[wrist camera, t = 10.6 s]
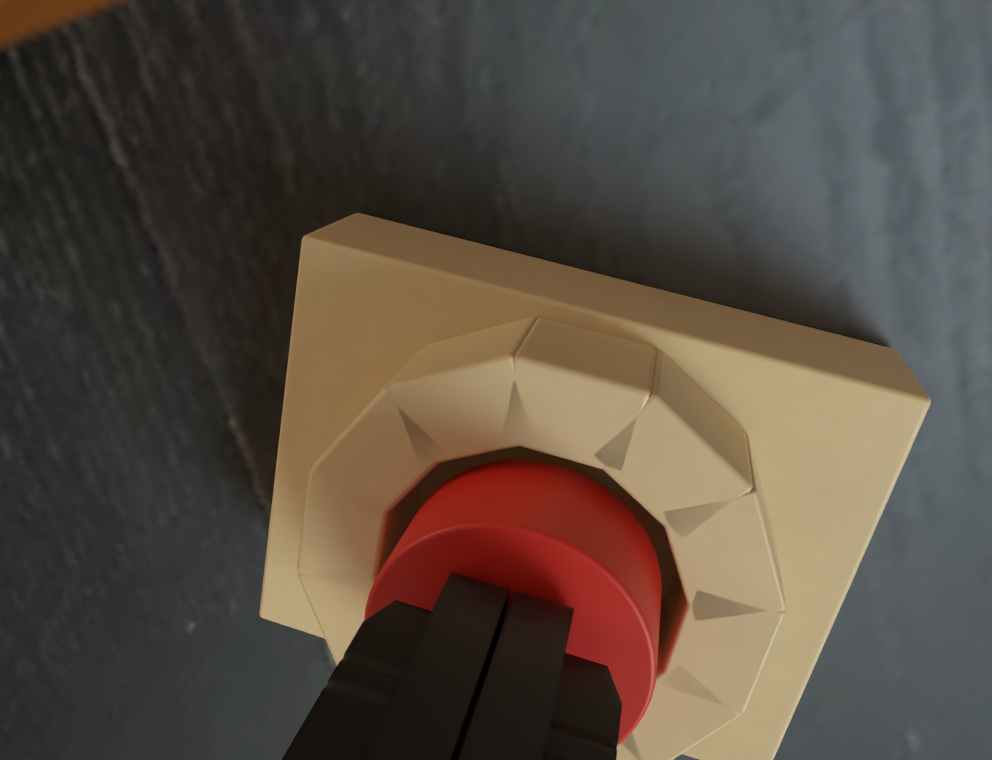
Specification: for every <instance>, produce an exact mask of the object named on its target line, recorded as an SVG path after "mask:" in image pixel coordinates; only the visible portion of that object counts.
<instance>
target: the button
mask: <svg viewBox="0 0 992 760" xmlns="http://www.w3.org/2000/svg"><path fill="white" fill-rule="evenodd" d="M452 571H453V572H457V573H460V574H463V575H466V576H470V577H473V578H476V579H479V580H483V581H486V582H489V583H492V584H496V585H499V586H502V587H505V588H509V589H510V594H509V598H508V603H507V607H506V610H505V614H504V618H503V622H502V626H501V630H500V634H501V631H502V628H503V625H504V622H505V619H506V616H507V613H508V610H509V607H510V604H511V601H512V598H513V595H514V592H515V590H516V591H519V592H523V593H526V594H529V595H532V596H536V597H539V598H542V599H545V600H549V601H552V602H555V603H558V604H562V605H565V606H568V607H571V608H574V613H573V618H572V623H571V628H570V632H569V637H568V642H567V646H566V651H565V653H568V654H571V655H574V656H577V657H581V658H584V659H587V660H590V661H593V662H596V663H600V664H603V665H606V666H608V668H609V671H610V673H611V676H612V678H613V681H614V684H615V686H616V689H617V691H618V694H619V697H620V699H621V702H622V711H621V721H620V730H619V739H618V744H617V745H619V744H620V743H621V742H622V741H624V740H625V739H626V737H627V736H628V735H629V734H630V733H631V732H632V731H633V730H634V729H635V728H636V726H637V725H638V723H639V722H640V720H641V719H642V717H643V716H644V714H645V712H646V710H647V708H648V706H649V703H650V701H651V699H652V695H653V691H654V687H655V683H656V672H657V658H658V642H659V626H660V610H661V594H662V583H661V572H660V567H659V563H658V558H657V555H656V553H655V550H654V547H653V545H652V542H651V540H650V539H649V537H648V535H647V533H646V531H645V529H644V528H643V526H642V525H641V524H640V522H639V521H638V519H637V518H636V517H635V515H634V514H633V513H632V512H631V511H630V510H629V509H628V508H627V507H626V506H625V505H624V504H623V502H622V501H621V500H619V499H618V498H617V497H616V496H615V495H613V494H612V493H611V492H610V491H609V490H607V489H606V488H604V487H603V486H601V485H600V484H598V483H596V482H595V481H593V480H592V479H590V478H588V477H586V476H584V475H581V474H579V473H577V472H575V471H572V470H569V469H567V468H564V467H561V466H558V465H553V464H549V463H544V462H538V461H528V460H506V461H499V462H492V463H487V464H483V465H480V466H476V467H473V468H470V469H468V470H466V471H463V472H461V473H459V474H457V475H455V476H453V477H452V478H450V479H449V480H447V481H445V482H444V483H443V484H442V485H440V486H439V487H438V488H437V489H435V490H434V491H433V492H432V493H431V494H430V496H429V497H428V498H427V499H426V500H425V501H424V502H423V504H422V505H421V507H420V508H419V510H418V511H417V513H416V515H415V516H414V518H413V519H412V521H411V523H410V524H409V526H408V527H407V529H406V531H405V532H404V534H403V536H402V537H401V539H400V540H399V542H398V544H397V545H396V547H395V548H394V550H393V552H392V553H391V555H390V556H389V558H388V560H387V561H386V563H385V565H384V566H383V568H382V569H381V571H380V573H379V574H378V576H377V577H376V579H375V581H374V584H373V586H372V588H371V590H370V593H369V596H368V600H367V604H366V608H365V617H364V621H365V620H366V619H368V618H369V617H371V616H372V615H374V614H375V613H377V612H378V611H380V610H381V609H383V608H384V607H386V606H387V605H389V604H390V603H392V602H393V601H395V600H398V601H401V602H404V603H408V604H411V605H414V606H417V607H420V608H424V609H427V610H430V611H432V610H433V608H434V606H435V604H436V602H437V600H438V597H439V595H440V593H441V591H442V589H443V587H444V585H445V583H446V581H447V578H448V576H449V575H450V573H451V572H452ZM500 634H499V637H500ZM498 640H499V638H498ZM497 643H498V642H497Z"/></svg>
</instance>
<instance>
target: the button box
mask: <svg viewBox="0 0 992 760" xmlns="http://www.w3.org/2000/svg"><path fill="white" fill-rule="evenodd" d="M930 404H931V399H930V397H929V396H928V394H927V393H926V391H925V390H924V389H923V387H922V386H921V384H920V383H919V382H918V380H917V379H916V377H915V376H914V374H913V373H912V372H911V370H910V369H909V367H908V366H907V365H906V363H905V362H904V360H903V359H902V358H901V356H900V355H899V353H898V352H897V351H896V350H895V349H893V348H889V347H885V346H881V345H877V344H873V343H869V342H865V341H861V340H857V339H853V338H850V337H846V336H842V335H838V334H834V333H830V332H826V331H822V330H818V329H814V328H810V327H806V326H802V325H798V324H794V323H790V322H787V321H783V320H779V319H775V318H771V317H767V316H763V315H759V314H755V313H751V312H747V311H743V310H739V309H735V308H731V307H728V306H724V305H720V304H716V303H712V302H708V301H704V300H700V299H696V298H692V297H688V296H684V295H680V294H676V293H672V292H668V291H665V290H661V289H657V288H653V287H649V286H645V285H641V284H637V283H633V282H629V281H625V280H621V279H617V278H613V277H609V276H605V275H602V274H598V273H594V272H590V271H586V270H582V269H578V268H574V267H570V266H566V265H562V264H558V263H554V262H550V261H546V260H543V259H539V258H535V257H531V256H527V255H523V254H519V253H515V252H511V251H507V250H503V249H499V248H495V247H491V246H487V245H483V244H480V243H476V242H472V241H468V240H464V239H460V238H456V237H452V236H448V235H444V234H440V233H436V232H432V231H428V230H424V229H420V228H417V227H413V226H409V225H405V224H401V223H397V222H393V221H389V220H385V219H381V218H377V217H373V216H369V215H365V214H361V213H355V214H352V215H350V216H348V217H346V218H343V219H341V220H339V221H336V222H334V223H332V224H330V225H327V226H325V227H323V228H320V229H318V230H316V231H314V232H311V233H309V234H307V235H304V236H303V238H302V242H301V251H300V260H299V269H298V278H297V286H296V295H295V304H294V313H293V322H292V331H291V339H290V348H289V357H288V366H287V375H286V384H285V393H284V401H283V410H282V419H281V428H280V437H279V446H278V454H277V463H276V472H275V481H274V490H273V499H272V508H271V516H270V525H269V534H268V543H267V552H266V561H265V569H264V578H263V587H262V596H261V605H260V617H262V618H264V619H267V620H270V621H273V622H276V623H279V624H282V625H285V626H289V627H292V628H295V629H298V630H301V631H304V632H307V633H310V634H313V635H316V636H319V637H323V638H325V640H326V642H327V644H328V647H329V649H330V651H331V653H332V656H333V658H334V660H335V663H336V665H338V663H339V662H340V660H342V659H343V657H344V653H345V651H346V650H347V648H348V646H349V645H350V643H351V641H352V640H353V638H354V636H355V635H356V633H357V631H358V629H359V628H360V626H361V624H362V623H363V621H364V617H365V608H366V604H367V600H368V596H369V593H370V590H371V588H372V586H373V584H374V581H375V579H376V577H377V576H378V574H379V573H380V571H381V569H382V568H383V566H384V565H385V563H386V561H387V560H388V558H389V556H390V555H391V553H392V552H393V550H394V548H395V547H396V545H397V544H398V542H399V540H400V539H401V537H402V536H403V534H404V532H405V531H406V529H407V527H408V526H409V524H410V523H411V521H412V519H413V518H414V516H415V515H416V513H417V511H418V510H419V508H420V507H421V505H422V504H423V502H424V501H425V500H426V499H427V498H428V497H429V496H430V494H431V493H432V492H433V491H434V490H435V489H437V488H438V487H439V486H440V485H442V484H443V483H444V482H445V481H447V480H449V479H450V478H452V477H453V476H455V475H457V474H459V473H461V472H463V471H466V470H468V469H470V468H473V467H476V466H480V465H483V464H487V463H492V462H499V461H506V460H528V461H538V462H544V463H549V464H553V465H558V466H561V467H564V468H567V469H569V470H572V471H575V472H577V473H579V474H581V475H584V476H586V477H588V478H590V479H592V480H593V481H595V482H596V483H598V484H600V485H601V486H603V487H604V488H606V489H607V490H609V491H610V492H611V493H612V494H613V495H615V496H616V497H617V498H618V499H619V500H621V501H622V502H623V504H624V505H625V506H626V507H627V508H628V509H629V510H630V511H631V512H632V513H633V514H634V515H635V517H636V518H637V519H638V521H639V522H640V524H641V525H642V526H643V528H644V529H645V531H646V533H647V535H648V537H649V539H650V540H651V542H652V545H653V547H654V550H655V553H656V555H657V558H658V563H659V567H660V572H661V583H662V594H661V610H660V626H659V642H658V658H657V672H656V683H655V687H654V691H653V695H652V699H651V701H650V703H649V706H648V708H647V710H646V712H645V714H644V716H643V717H642V719H641V720H640V722H639V723H638V725H637V726H636V728H635V729H634V730H633V731H632V732H631V733H630V734H629V735H628V736H627V737H626V739H625V740H624V741H622V742H621V743H620V744H619V745H617V749H616V750H617V758H616V760H673V759H674V758H676V757H677V756H679V755H681V754H684V755H687V756H690V757H693V758H696V759H699V760H773V759H774V757H775V754H776V752H777V750H778V748H779V745H780V743H781V741H782V739H783V736H784V734H785V732H786V730H787V727H788V725H789V723H790V721H791V718H792V716H793V714H794V712H795V709H796V707H797V705H798V702H799V700H800V698H801V696H802V693H803V691H804V689H805V687H806V684H807V682H808V680H809V678H810V675H811V673H812V671H813V669H814V666H815V664H816V662H817V659H818V657H819V655H820V653H821V650H822V648H823V646H824V644H825V641H826V639H827V637H828V635H829V632H830V630H831V628H832V626H833V623H834V621H835V619H836V617H837V614H838V612H839V610H840V607H841V605H842V603H843V601H844V598H845V596H846V594H847V592H848V589H849V587H850V585H851V583H852V580H853V578H854V576H855V574H856V571H857V569H858V567H859V564H860V562H861V560H862V558H863V555H864V553H865V551H866V549H867V546H868V544H869V542H870V540H871V537H872V535H873V533H874V531H875V528H876V526H877V524H878V522H879V519H880V517H881V515H882V512H883V510H884V508H885V506H886V503H887V501H888V499H889V497H890V494H891V492H892V490H893V488H894V485H895V483H896V481H897V479H898V476H899V474H900V472H901V470H902V467H903V465H904V463H905V460H906V458H907V456H908V454H909V451H910V449H911V447H912V445H913V442H914V440H915V438H916V436H917V433H918V431H919V429H920V427H921V424H922V422H923V420H924V417H925V415H926V413H927V411H928V408H929V406H930Z"/></svg>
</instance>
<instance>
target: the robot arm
mask: <svg viewBox="0 0 992 760" xmlns="http://www.w3.org/2000/svg"><path fill="white" fill-rule="evenodd" d="M509 594H510V589H509V588H505V587H502V586H499V585H496V584H492V583H489V582H486V581H483V580H479V579H476V578H473V577H470V576H466V575H463V574H460V573H457V572H453V571H452V572H451V573H450V575H449V576H448V578H447V581H446V583H445V585H444V587H443V589H442V591H441V593H440V595H439V597H438V600H437V602H436V604H435V606H434V608H433V610H432V611H430V610H427V609H424V608H420V607H417V606H414V605H411V604H408V603H404V602H401V601H398V600H395V601H393V602H392V603H390V604H389V605H387V606H386V607H384V608H383V609H381V610H380V611H378V612H377V613H375V614H374V615H372V616H371V617H369V618H368V619H366V620H365V621H363V623H362V624H361V626H360V628H359V629H358V631H357V633H356V635H355V636H354V638H353V640H352V641H351V643H350V645H349V646H348V648H347V650H346V651H345V653H344V657H343V659H342V660H340V662H339V663H338V665H337V667H336V668H335V670H334V672H333V674H332V675H331V677H330V679H329V680H328V684H327V686H326V688H324V689H323V691H322V692H321V694H320V696H319V697H318V699H317V701H316V702H315V704H314V706H313V708H312V709H311V711H310V713H309V714H308V716H307V718H306V719H305V721H304V723H303V725H302V726H301V728H300V730H299V731H298V733H297V735H296V736H295V738H294V740H293V742H292V743H291V745H290V747H289V748H288V750H287V752H286V753H285V755H284V757H283V759H282V760H616V758H617V750H616V749H617V744H618V739H619V730H620V721H621V711H622V702H621V699H620V697H619V694H618V691H617V689H616V686H615V684H614V681H613V678H612V676H611V673H610V671H609V668H608V666H606V665H603V664H600V663H596V662H593V661H590V660H587V659H584V658H581V657H577V656H574V655H571V654H568V653H565V651H566V646H567V642H568V637H569V632H570V628H571V623H572V618H573V613H574V608H571V607H568V606H565V605H562V604H558V603H555V602H552V601H549V600H545V599H542V598H539V597H536V596H532V595H529V594H526V593H523V592H519V591H516V590H515V592H514V595H513V598H512V601H511V604H510V607H509V610H508V613H507V616H506V619H505V622H504V625H503V628H502V631H501V634H500V630H501V626H502V622H503V618H504V614H505V610H506V607H507V603H508V598H509ZM499 634H500V637H499ZM498 638H499V640H498ZM497 642H498V643H497Z"/></svg>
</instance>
